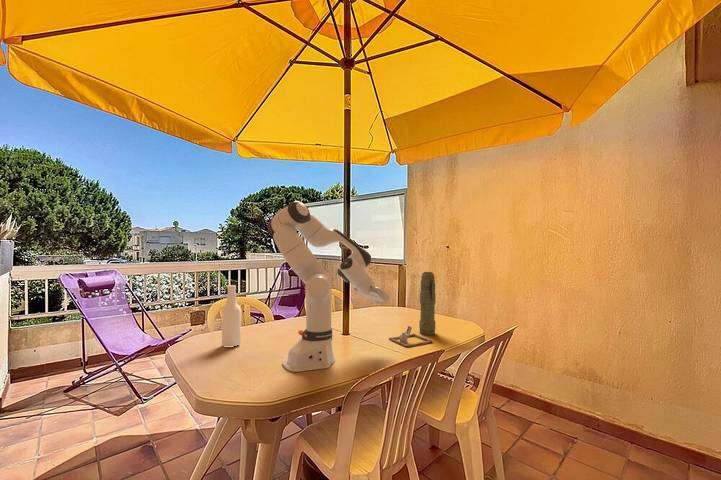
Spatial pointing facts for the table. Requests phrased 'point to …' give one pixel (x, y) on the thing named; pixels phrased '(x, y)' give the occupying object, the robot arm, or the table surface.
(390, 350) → the table surface
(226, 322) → the alcohol
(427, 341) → the frame
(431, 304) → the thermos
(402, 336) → the lighter
